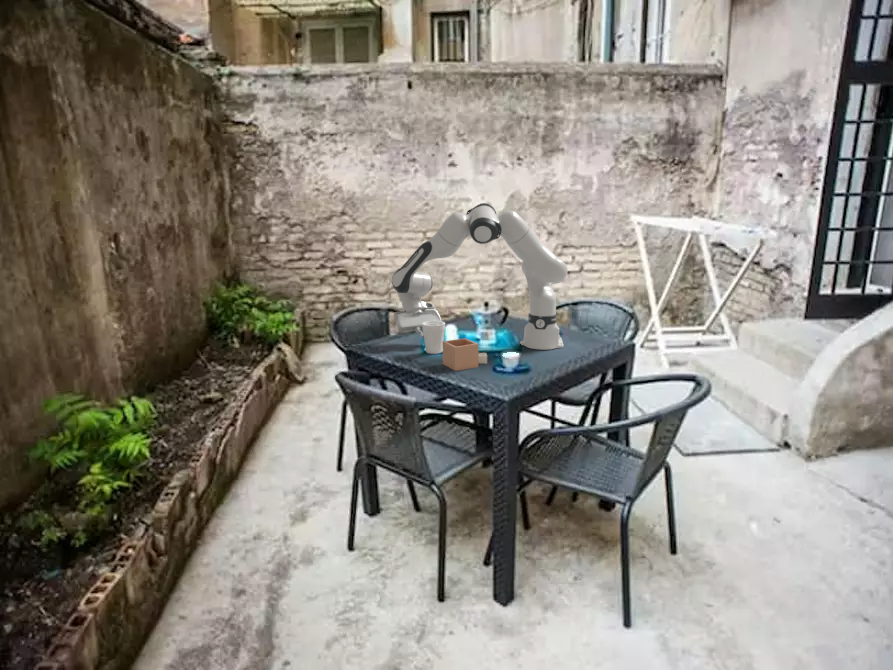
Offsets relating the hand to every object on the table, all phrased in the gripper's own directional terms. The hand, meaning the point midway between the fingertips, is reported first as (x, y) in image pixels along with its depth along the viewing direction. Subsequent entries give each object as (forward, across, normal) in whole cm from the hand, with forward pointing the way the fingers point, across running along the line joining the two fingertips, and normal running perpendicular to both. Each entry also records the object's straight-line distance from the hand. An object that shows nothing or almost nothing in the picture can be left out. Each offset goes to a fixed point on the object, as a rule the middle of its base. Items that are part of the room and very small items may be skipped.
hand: (424, 336), depth 253 cm
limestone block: (+26, +9, -18) cm, 33 cm away
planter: (+26, 0, -18) cm, 32 cm away
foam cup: (+10, 0, -2) cm, 10 cm away
